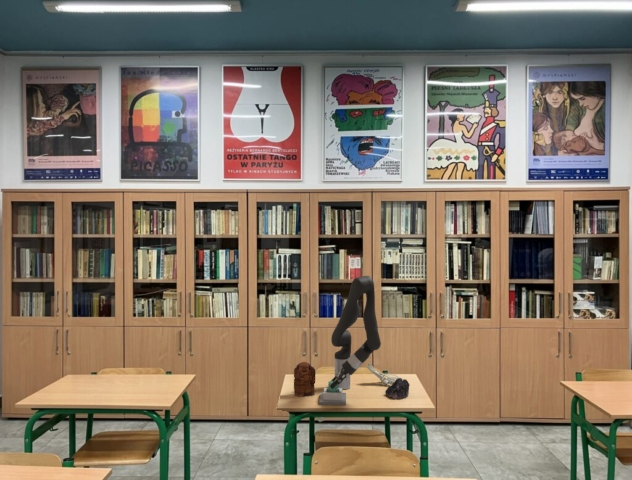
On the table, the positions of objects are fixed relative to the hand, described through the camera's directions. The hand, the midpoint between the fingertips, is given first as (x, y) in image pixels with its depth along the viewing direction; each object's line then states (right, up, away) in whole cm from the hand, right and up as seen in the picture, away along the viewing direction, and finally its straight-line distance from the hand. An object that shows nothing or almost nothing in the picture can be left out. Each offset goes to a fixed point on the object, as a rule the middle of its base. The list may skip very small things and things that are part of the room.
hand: (331, 385), depth 266 cm
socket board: (+1, -8, 0) cm, 8 cm away
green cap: (+1, -6, 0) cm, 6 cm away
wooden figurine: (-14, -8, +10) cm, 19 cm away
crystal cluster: (+37, -8, +7) cm, 39 cm away
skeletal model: (+34, -9, +31) cm, 47 cm away
